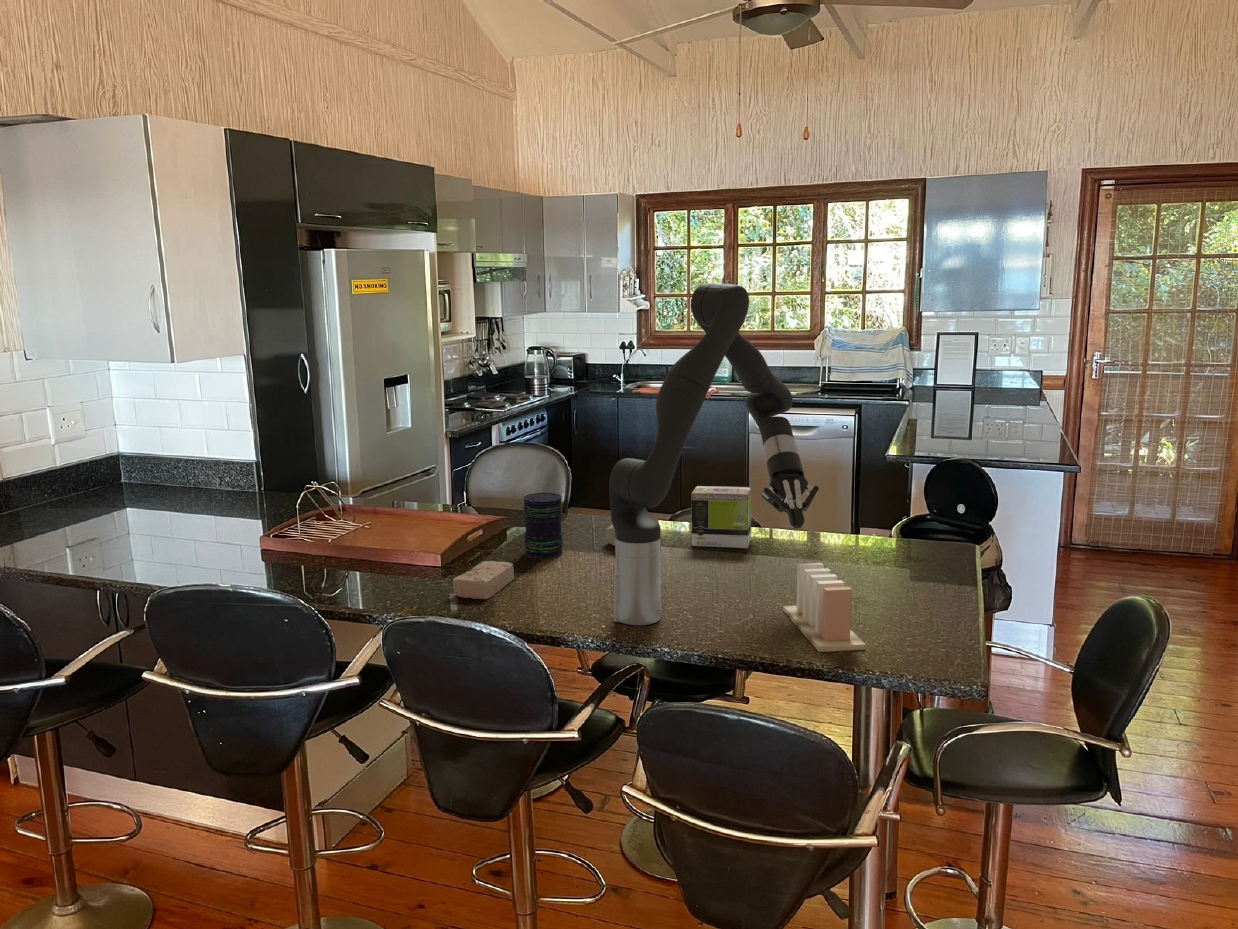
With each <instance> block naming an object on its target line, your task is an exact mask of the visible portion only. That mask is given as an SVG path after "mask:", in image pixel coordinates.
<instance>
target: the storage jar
mask: <svg viewBox="0 0 1238 929" xmlns="http://www.w3.org/2000/svg"><path fill="white" fill-rule="evenodd" d="M562 498H563V496H562V495H561V494H558V493H553V492H538V493H537V492H536V493H530V494H526V495H524V496H523V520H524V522H525V523H524V524H525V533H524V548H525V557H528V558H532V559H536V558H540V559H539V560H542V559H543V558H548V559H553V558H559V557H560V555H561V556H562V555H563V554H564V551H563V550H564V549H563V546H564V545H563V544H564V538H563V536H564V535H563V531H562V519H563V505H562V504H563V502H562ZM541 558H542V559H541ZM543 560H544V559H543Z"/></svg>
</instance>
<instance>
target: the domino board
mask: <svg viewBox="0 0 1238 929" xmlns="http://www.w3.org/2000/svg"><path fill="white" fill-rule="evenodd" d="M796 606H797V604H796V605H794V604H793V605H783V606H782V611H783V612H784V613H785V615H786V616H789V617H788V618H789V619H790V620H791V621H792V622H793V624H794V625H795V626H796V627H797V628H798V630H799V631H800V632H801V633H802V634H803V635H804V636H805V638H806V639H807V640H808V641H809V642H810V643H811V644H812V646H813V647H814V648H815V649H816V650H817V651H818V652H819V653H823V652H825V653H826V652H841V651H859V650H860V651H861V650H862V651H863V650H866V645H867V644H866V643H865V642H864V641H863V640H862V639H861V638H860V637H859V635H857V634H856V633H855V632H854V631H853V630H852V629H851V630H850V640H834V641H824V640H823V639H822V633H817V632H816V631H815V626H811V625H810V624H809V619H804V618H803V617H802V613H803V612H798V611H797V610H796Z"/></svg>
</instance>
